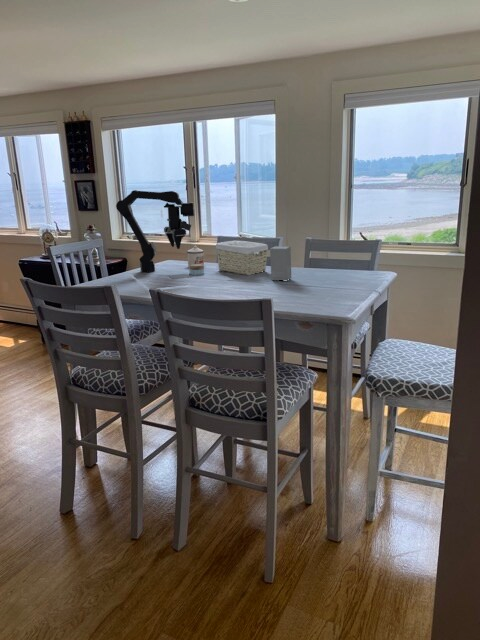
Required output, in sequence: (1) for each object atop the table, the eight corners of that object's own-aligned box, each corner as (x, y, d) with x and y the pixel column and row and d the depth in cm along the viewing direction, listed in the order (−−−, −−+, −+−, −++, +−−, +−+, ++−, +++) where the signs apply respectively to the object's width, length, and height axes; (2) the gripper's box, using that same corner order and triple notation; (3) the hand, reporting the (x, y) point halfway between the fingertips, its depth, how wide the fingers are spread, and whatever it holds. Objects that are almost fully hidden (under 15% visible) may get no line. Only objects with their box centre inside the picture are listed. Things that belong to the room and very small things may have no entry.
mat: (173, 280, 225) (172, 278, 225) (166, 277, 234) (166, 275, 233) (192, 278, 229) (192, 276, 229) (186, 275, 238) (186, 273, 237)
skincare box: (291, 279, 225) (292, 246, 220) (286, 282, 218) (287, 248, 214) (275, 278, 228) (275, 245, 224) (269, 281, 222) (269, 247, 217)
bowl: (192, 277, 233) (192, 270, 232) (187, 274, 240) (187, 268, 239) (206, 276, 236) (205, 269, 235) (201, 273, 242) (200, 266, 241)
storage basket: (269, 272, 244) (269, 243, 240) (248, 276, 233) (247, 246, 229) (236, 266, 260) (236, 239, 256) (215, 270, 249) (214, 242, 245)
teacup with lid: (196, 269, 254) (195, 247, 251) (184, 267, 260) (183, 246, 256) (211, 265, 263) (210, 245, 260) (199, 264, 269) (198, 243, 265)
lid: (192, 270, 232) (192, 267, 232) (188, 268, 238) (187, 265, 238) (205, 269, 235) (205, 265, 235) (200, 266, 241) (200, 263, 241)
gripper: (195, 217, 232) (196, 248, 236) (183, 214, 248) (184, 244, 252) (173, 218, 227) (175, 250, 231) (162, 215, 243) (164, 246, 248)
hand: (175, 247), depth 241 cm, fingers open, 9 cm apart
